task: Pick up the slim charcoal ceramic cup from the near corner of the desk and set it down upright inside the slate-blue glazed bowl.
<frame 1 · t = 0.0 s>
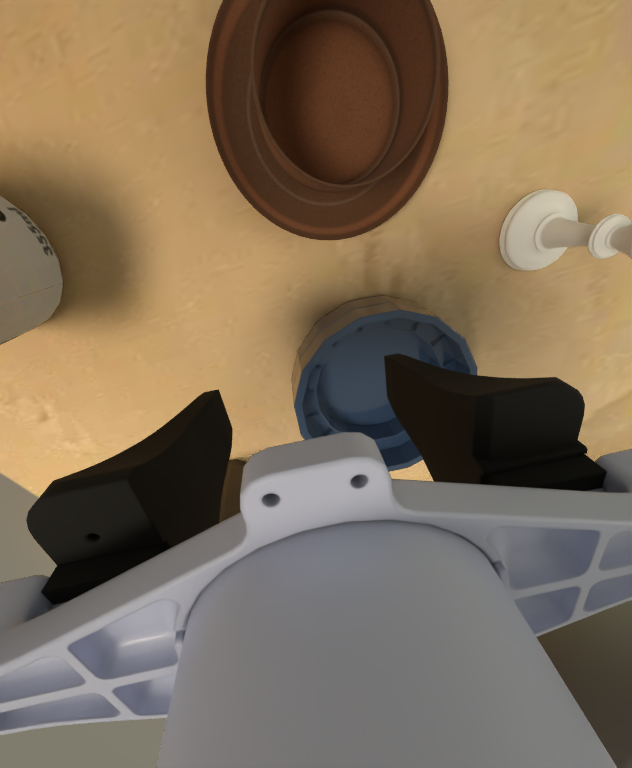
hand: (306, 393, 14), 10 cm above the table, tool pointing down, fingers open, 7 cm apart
chess piece: (532, 231, 22), on the table
bowl: (370, 373, 26), on the table
beverage can: (7, 263, 20), on the table
cup: (233, 483, 29), on the table
cup and saucer: (325, 119, 18), on the table
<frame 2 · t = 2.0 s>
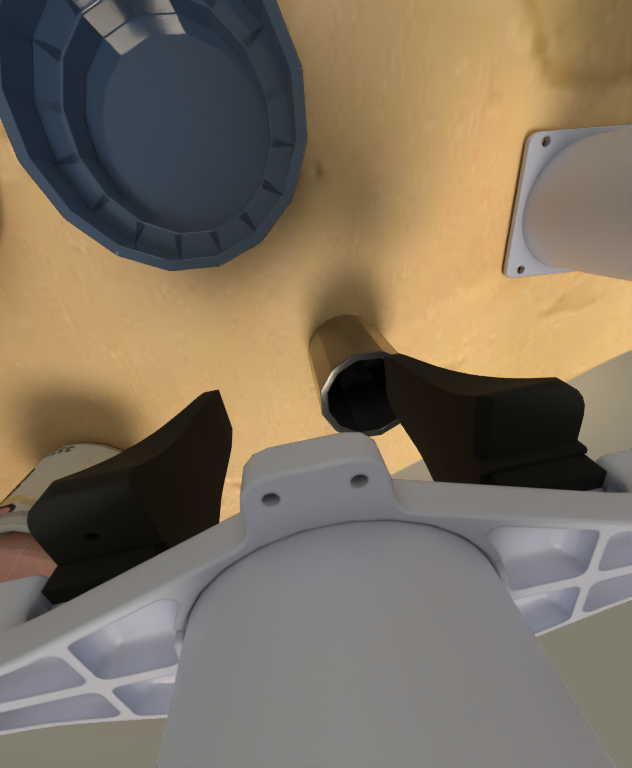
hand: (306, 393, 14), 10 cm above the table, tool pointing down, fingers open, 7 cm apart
bowl: (184, 137, 17), on the table
beverage can: (102, 471, 26), on the table
cup: (344, 350, 24), on the table
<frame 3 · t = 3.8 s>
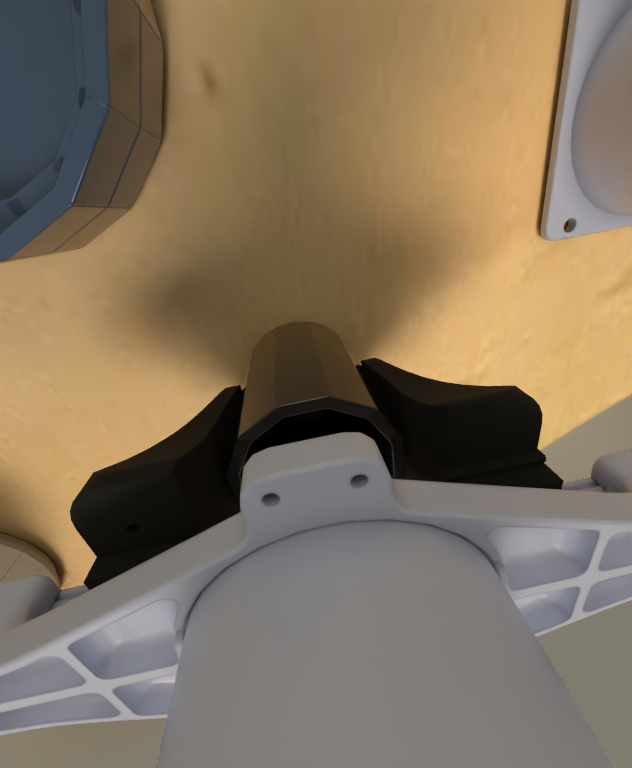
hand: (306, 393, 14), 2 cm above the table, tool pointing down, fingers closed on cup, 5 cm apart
cup: (301, 374, 16), on the table, touching gripper
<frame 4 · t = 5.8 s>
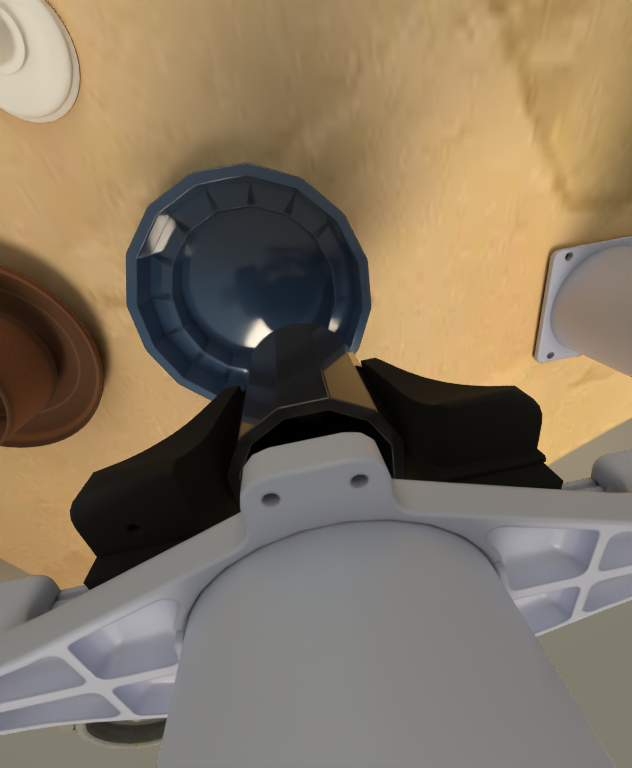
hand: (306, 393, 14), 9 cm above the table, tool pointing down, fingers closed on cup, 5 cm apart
chess piece: (22, 56, 15), on the table
bowl: (258, 288, 21), on the table
beverage can: (184, 542, 30), on the table
cup: (302, 375, 16), point 7 cm above the table, touching gripper
cup and saucer: (13, 350, 21), on the table
when the fingers open (2 cm above the table, at t = 8.2 s): cup stays where it is, resting on bowl.
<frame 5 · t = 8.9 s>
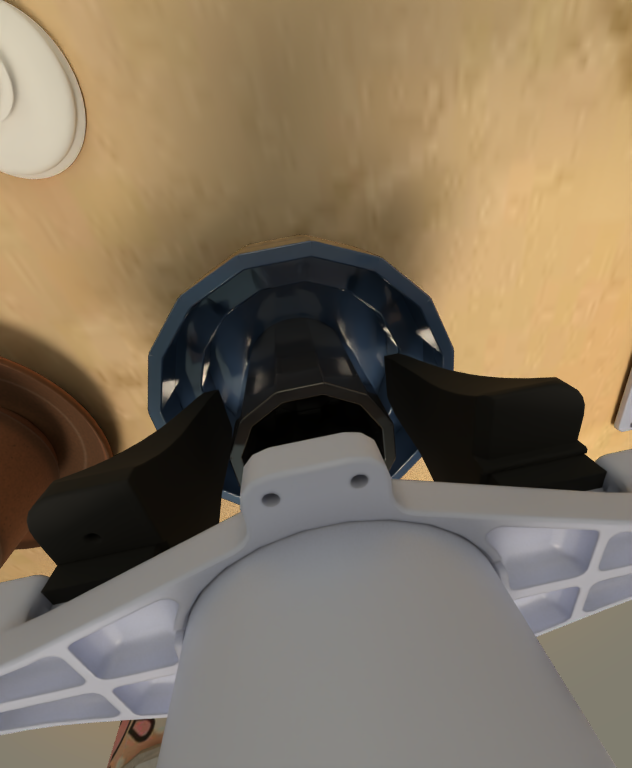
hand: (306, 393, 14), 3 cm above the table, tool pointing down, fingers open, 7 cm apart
chess piece: (11, 97, 12), on the table
bowl: (300, 362, 17), on the table
beverage can: (204, 623, 27), on the table
cup: (300, 367, 17), point 1 cm above the table, touching bowl
cup and saucer: (6, 437, 17), on the table
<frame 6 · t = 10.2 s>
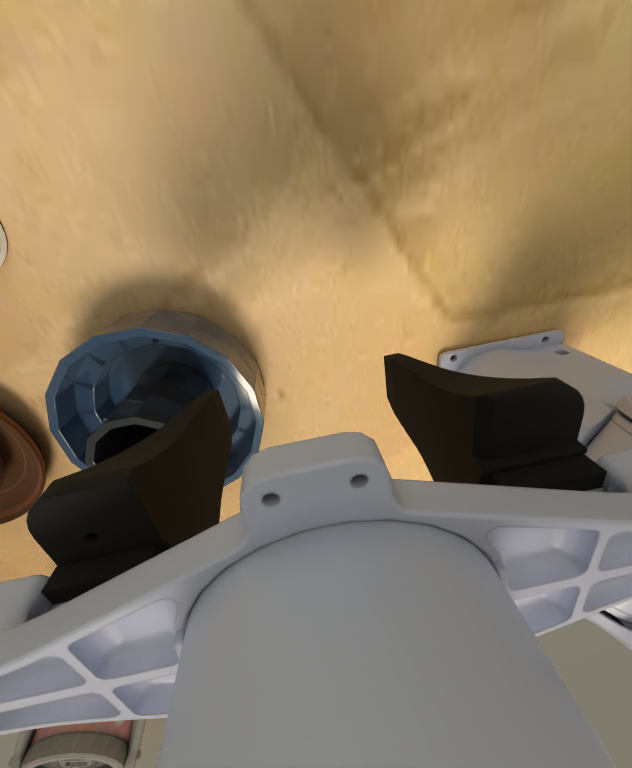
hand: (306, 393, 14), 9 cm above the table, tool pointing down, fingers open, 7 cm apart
bowl: (179, 391, 24), on the table
beverage can: (137, 592, 33), on the table
cup: (177, 395, 23), point 1 cm above the table, touching bowl
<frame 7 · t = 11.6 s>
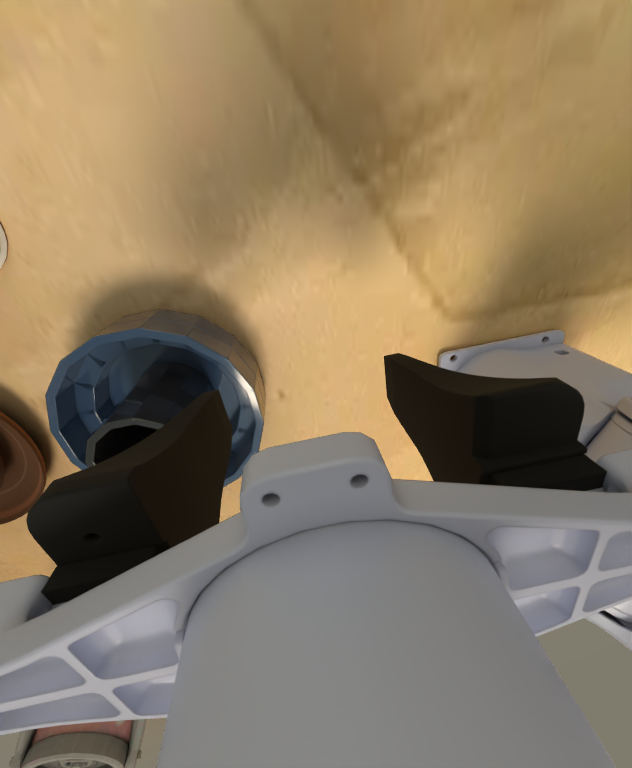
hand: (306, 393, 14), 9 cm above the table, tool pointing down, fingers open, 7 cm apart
bowl: (179, 391, 24), on the table
beverage can: (137, 592, 33), on the table
cup: (177, 396, 23), point 1 cm above the table, touching bowl
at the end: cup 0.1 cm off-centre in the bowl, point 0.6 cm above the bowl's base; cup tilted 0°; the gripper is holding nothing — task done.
